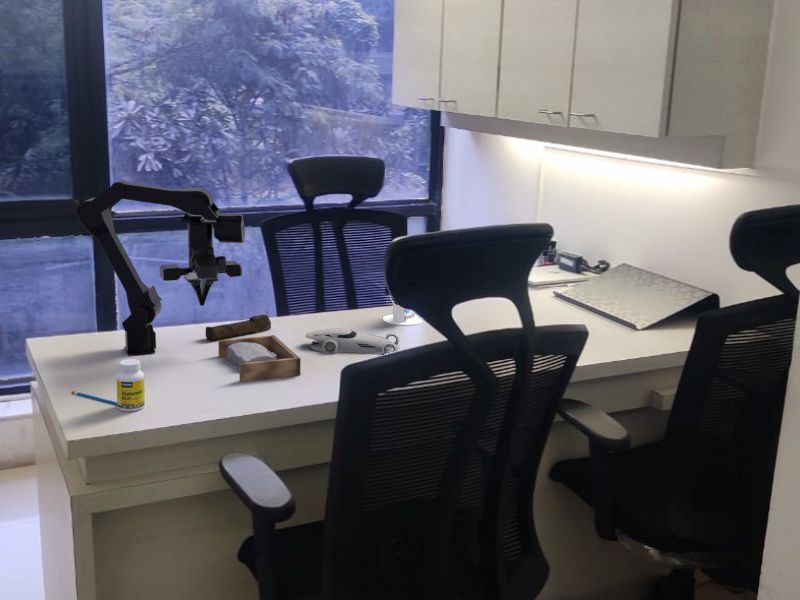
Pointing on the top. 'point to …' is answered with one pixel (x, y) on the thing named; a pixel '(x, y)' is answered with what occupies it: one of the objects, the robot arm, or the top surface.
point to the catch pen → (265, 369)
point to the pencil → (94, 398)
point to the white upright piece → (401, 317)
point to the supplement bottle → (130, 386)
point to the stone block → (248, 353)
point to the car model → (351, 341)
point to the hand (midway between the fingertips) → (201, 305)
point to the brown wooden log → (239, 328)
